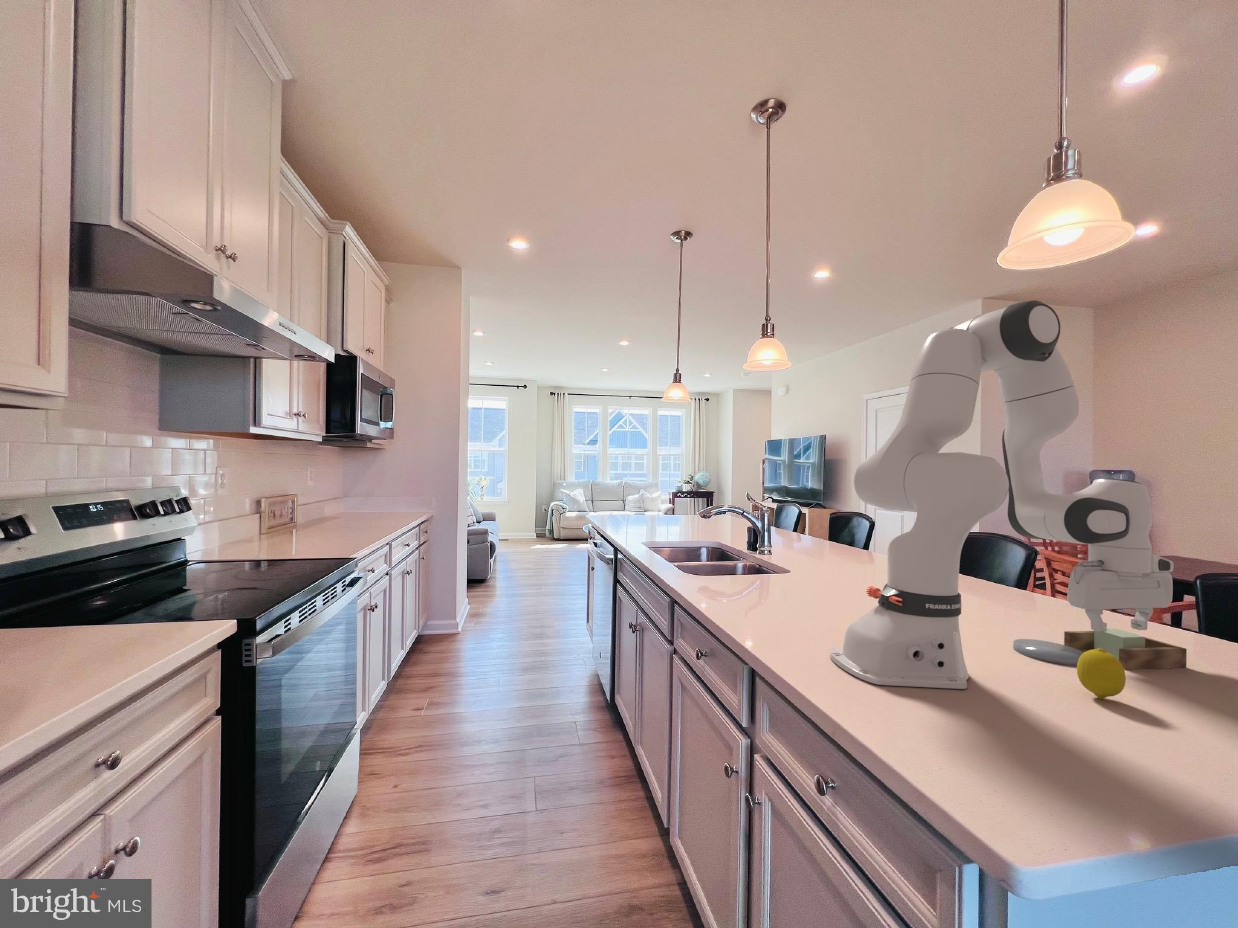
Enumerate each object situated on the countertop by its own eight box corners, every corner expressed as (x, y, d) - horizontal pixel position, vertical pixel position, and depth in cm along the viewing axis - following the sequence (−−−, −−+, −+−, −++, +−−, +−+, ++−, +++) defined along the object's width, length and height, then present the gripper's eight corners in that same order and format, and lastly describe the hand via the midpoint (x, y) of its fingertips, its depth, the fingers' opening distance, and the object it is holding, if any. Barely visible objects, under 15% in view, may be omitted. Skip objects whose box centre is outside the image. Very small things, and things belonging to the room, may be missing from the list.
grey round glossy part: (1053, 666, 90) (1053, 659, 90) (999, 645, 101) (999, 639, 101) (1103, 664, 92) (1103, 658, 92) (1045, 643, 103) (1045, 638, 103)
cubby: (1125, 669, 90) (1125, 650, 90) (1064, 648, 100) (1064, 631, 100) (1186, 667, 91) (1186, 648, 92) (1120, 646, 102) (1120, 630, 102)
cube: (1122, 663, 93) (1123, 637, 93) (1094, 653, 98) (1094, 628, 98) (1144, 662, 94) (1145, 636, 94) (1115, 653, 99) (1115, 628, 99)
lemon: (1103, 692, 80) (1104, 643, 80) (1136, 708, 74) (1136, 655, 74) (1067, 689, 80) (1067, 641, 80) (1096, 705, 75) (1097, 653, 75)
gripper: (1092, 563, 92) (1091, 637, 92) (1181, 562, 95) (1181, 633, 94) (1057, 557, 98) (1057, 626, 98) (1142, 556, 101) (1142, 623, 101)
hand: (1119, 630), depth 96 cm, fingers open, 8 cm apart
